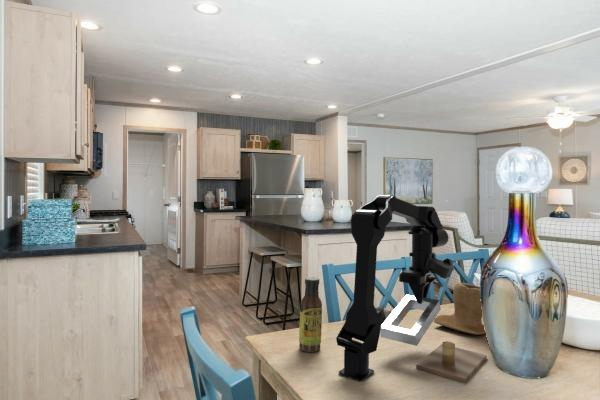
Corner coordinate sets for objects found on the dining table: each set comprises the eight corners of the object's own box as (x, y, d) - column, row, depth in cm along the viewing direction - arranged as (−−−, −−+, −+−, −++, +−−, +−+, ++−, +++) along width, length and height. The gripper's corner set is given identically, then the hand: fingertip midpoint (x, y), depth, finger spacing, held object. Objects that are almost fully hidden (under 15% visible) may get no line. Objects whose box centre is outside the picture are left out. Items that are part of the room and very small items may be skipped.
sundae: (353, 309, 133) (399, 308, 131) (352, 303, 139) (396, 302, 138) (354, 328, 133) (400, 328, 131) (353, 322, 139) (397, 321, 138)
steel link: (416, 346, 102) (415, 335, 102) (381, 337, 109) (379, 327, 108) (440, 309, 116) (439, 300, 115) (407, 303, 122) (406, 294, 121)
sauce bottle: (303, 354, 109) (303, 281, 109) (296, 346, 115) (296, 276, 115) (325, 351, 111) (325, 280, 111) (316, 343, 117) (317, 275, 117)
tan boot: (495, 332, 128) (496, 285, 128) (477, 340, 121) (478, 290, 120) (451, 320, 140) (452, 277, 140) (432, 327, 132) (433, 281, 132)
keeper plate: (465, 382, 93) (465, 357, 93) (415, 368, 101) (416, 344, 101) (486, 358, 107) (486, 336, 107) (441, 347, 115) (441, 326, 115)
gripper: (438, 256, 105) (437, 315, 105) (460, 248, 119) (460, 300, 120) (398, 251, 112) (397, 307, 112) (424, 245, 126) (423, 294, 127)
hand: (421, 302), depth 117 cm, fingers closed on steel link, 2 cm apart
